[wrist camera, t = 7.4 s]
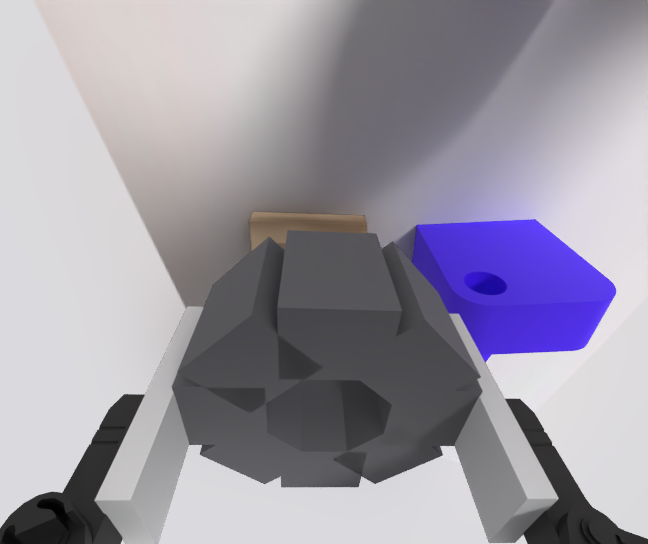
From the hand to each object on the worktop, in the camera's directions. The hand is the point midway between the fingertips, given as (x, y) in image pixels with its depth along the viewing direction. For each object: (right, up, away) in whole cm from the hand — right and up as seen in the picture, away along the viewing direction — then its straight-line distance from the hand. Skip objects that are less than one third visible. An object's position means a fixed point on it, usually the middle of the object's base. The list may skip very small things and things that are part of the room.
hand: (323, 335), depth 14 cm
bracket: (+14, 0, +23) cm, 27 cm away
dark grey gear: (0, 0, 0) cm, 0 cm away
